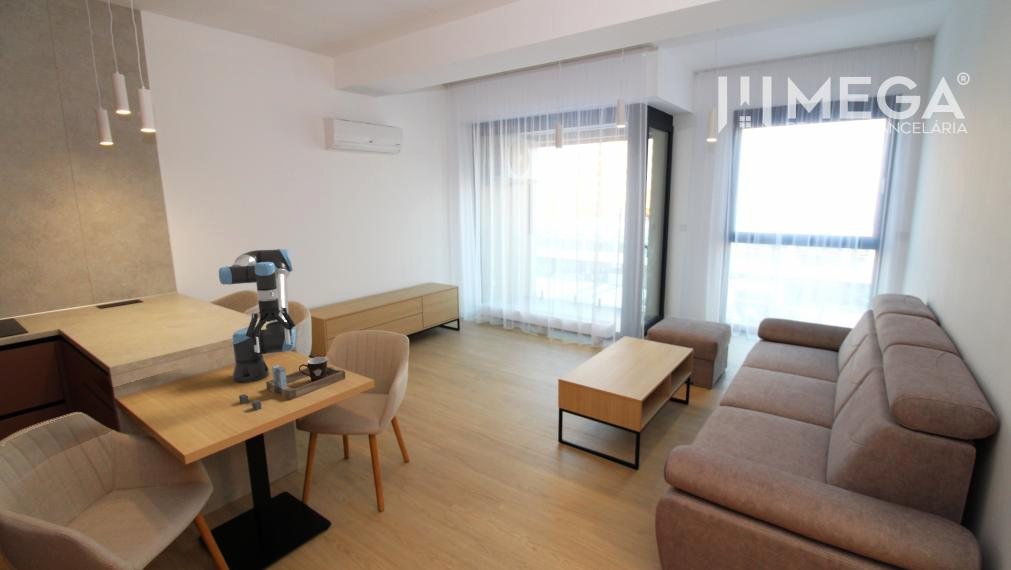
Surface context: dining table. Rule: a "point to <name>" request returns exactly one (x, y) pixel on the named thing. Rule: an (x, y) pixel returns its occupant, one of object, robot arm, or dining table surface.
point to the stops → (255, 404)
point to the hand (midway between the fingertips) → (273, 348)
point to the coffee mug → (316, 368)
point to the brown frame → (282, 379)
